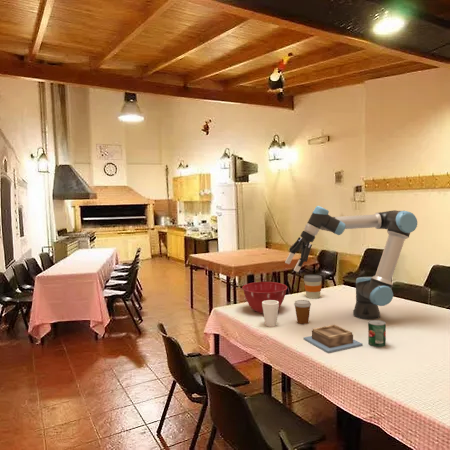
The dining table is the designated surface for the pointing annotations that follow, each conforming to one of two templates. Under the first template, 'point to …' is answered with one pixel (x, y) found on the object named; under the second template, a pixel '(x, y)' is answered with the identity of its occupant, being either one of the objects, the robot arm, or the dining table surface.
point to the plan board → (332, 349)
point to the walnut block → (332, 336)
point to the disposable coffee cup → (302, 311)
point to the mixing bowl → (263, 293)
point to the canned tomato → (377, 333)
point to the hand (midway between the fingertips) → (291, 267)
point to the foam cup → (270, 312)
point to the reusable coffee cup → (312, 286)
